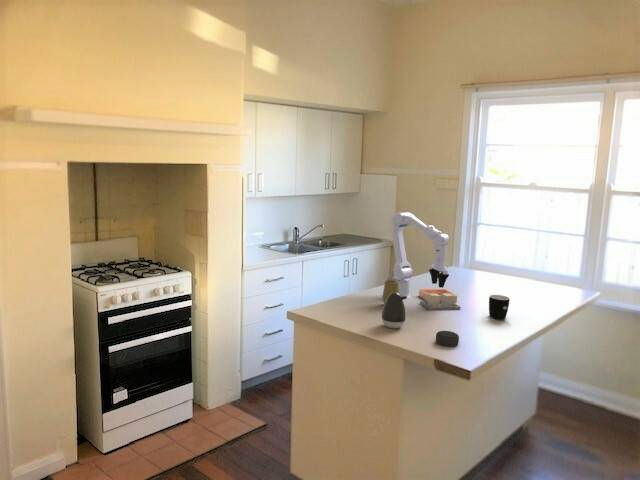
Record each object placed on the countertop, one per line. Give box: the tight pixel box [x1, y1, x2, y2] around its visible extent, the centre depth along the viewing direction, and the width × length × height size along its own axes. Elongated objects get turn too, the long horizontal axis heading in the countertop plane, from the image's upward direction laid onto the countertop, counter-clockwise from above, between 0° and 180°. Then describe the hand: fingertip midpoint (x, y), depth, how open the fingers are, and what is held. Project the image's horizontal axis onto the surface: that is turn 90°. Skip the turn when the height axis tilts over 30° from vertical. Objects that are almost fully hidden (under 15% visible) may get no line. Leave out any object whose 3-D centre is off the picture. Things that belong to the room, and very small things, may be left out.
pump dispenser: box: [381, 292, 408, 330], centre depth 229 cm, size 10×10×15 cm
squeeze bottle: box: [382, 268, 399, 305], centre depth 262 cm, size 8×8×18 cm
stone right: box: [441, 293, 455, 307], centre depth 264 cm, size 4×4×6 cm
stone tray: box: [419, 300, 461, 311], centre depth 263 cm, size 16×11×2 cm
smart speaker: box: [435, 330, 460, 347], centre depth 213 cm, size 9×9×4 cm
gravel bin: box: [418, 288, 458, 303], centre depth 278 cm, size 15×13×4 cm
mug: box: [488, 294, 511, 321], centre depth 251 cm, size 12×9×10 cm
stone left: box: [427, 294, 440, 307], centre depth 262 cm, size 4×4×6 cm
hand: (437, 285), depth 265 cm, fingers open, 7 cm apart
